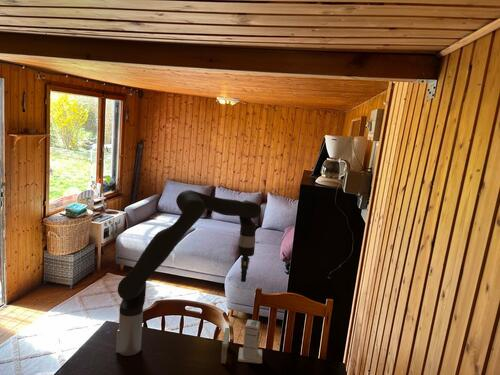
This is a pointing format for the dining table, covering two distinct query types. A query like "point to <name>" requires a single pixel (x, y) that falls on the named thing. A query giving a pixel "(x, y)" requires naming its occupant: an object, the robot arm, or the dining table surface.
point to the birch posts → (224, 353)
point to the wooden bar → (226, 337)
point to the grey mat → (242, 359)
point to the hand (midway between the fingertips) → (243, 278)
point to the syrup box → (251, 339)
